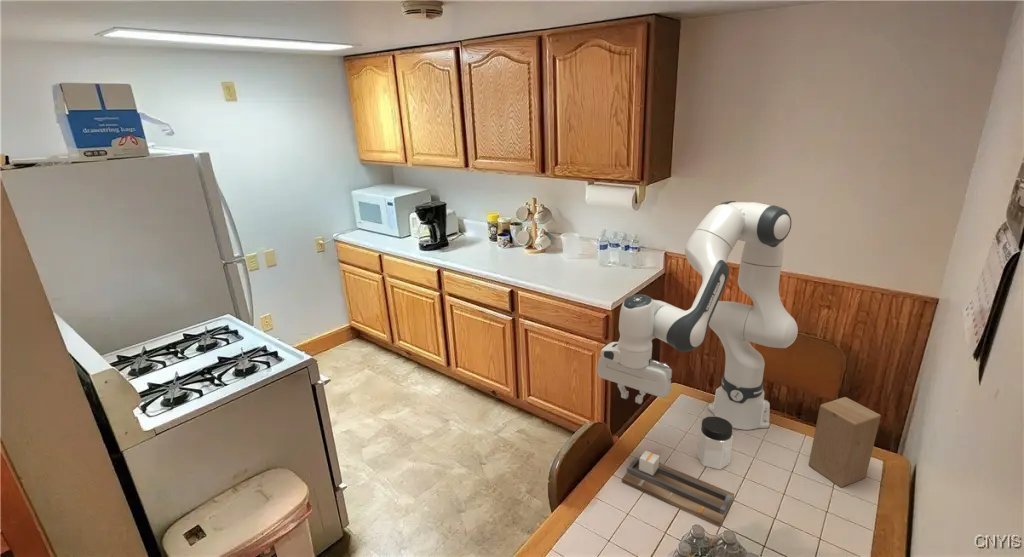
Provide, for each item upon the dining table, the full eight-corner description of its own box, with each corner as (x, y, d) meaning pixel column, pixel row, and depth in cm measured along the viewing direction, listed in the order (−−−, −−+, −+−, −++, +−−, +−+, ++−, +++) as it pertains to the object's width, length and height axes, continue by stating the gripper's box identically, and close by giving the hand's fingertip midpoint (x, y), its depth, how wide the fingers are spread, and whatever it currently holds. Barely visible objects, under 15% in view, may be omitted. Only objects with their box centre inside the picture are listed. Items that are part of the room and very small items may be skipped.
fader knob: (644, 466, 140) (645, 449, 139) (658, 471, 138) (659, 455, 136) (638, 474, 137) (639, 457, 136) (652, 480, 135) (653, 463, 133)
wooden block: (841, 488, 132) (855, 424, 126) (807, 465, 141) (819, 404, 135) (866, 477, 136) (882, 414, 130) (832, 455, 145) (845, 395, 138)
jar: (715, 473, 139) (720, 437, 135) (691, 458, 145) (694, 422, 142) (734, 461, 144) (739, 425, 140) (710, 446, 150) (714, 412, 146)
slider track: (640, 458, 146) (640, 451, 145) (733, 497, 130) (734, 489, 129) (621, 482, 137) (622, 474, 136) (719, 526, 121) (721, 517, 120)
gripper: (677, 360, 129) (672, 407, 133) (606, 341, 141) (604, 384, 145) (667, 370, 124) (663, 418, 129) (595, 349, 136) (593, 393, 141)
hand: (631, 399), depth 137 cm, fingers open, 3 cm apart
